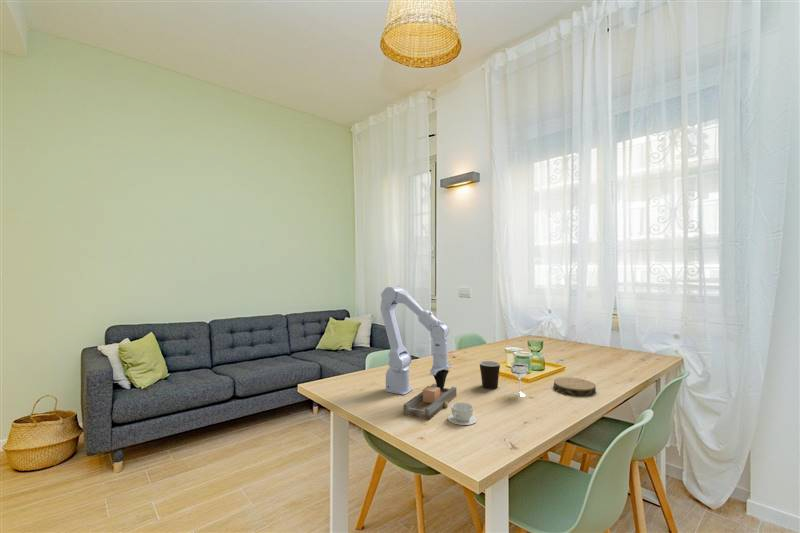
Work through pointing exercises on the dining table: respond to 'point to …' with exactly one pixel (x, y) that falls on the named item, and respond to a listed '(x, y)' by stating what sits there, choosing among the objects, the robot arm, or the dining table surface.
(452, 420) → the teacup
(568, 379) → the wood slice
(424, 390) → the salmon orange block
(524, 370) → the wineglass
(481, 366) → the coffee mug
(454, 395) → the grey rectangular tray
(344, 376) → the dining table surface
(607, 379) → the dining table surface
